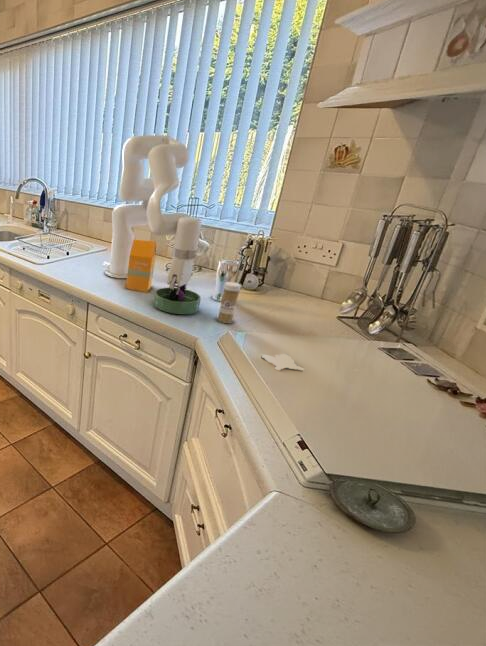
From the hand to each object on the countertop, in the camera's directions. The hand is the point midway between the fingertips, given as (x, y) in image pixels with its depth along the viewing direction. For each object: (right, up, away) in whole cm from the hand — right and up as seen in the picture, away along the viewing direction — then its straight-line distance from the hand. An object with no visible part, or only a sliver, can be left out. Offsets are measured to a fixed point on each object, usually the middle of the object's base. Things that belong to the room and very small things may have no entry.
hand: (176, 301), depth 144 cm
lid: (-4, -36, -79) cm, 86 cm away
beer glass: (+21, +1, +8) cm, 22 cm away
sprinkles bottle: (+12, -7, -10) cm, 17 cm away
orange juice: (-7, +6, +21) cm, 23 cm away
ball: (0, 0, 0) cm, 0 cm away
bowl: (0, -2, +1) cm, 2 cm away
